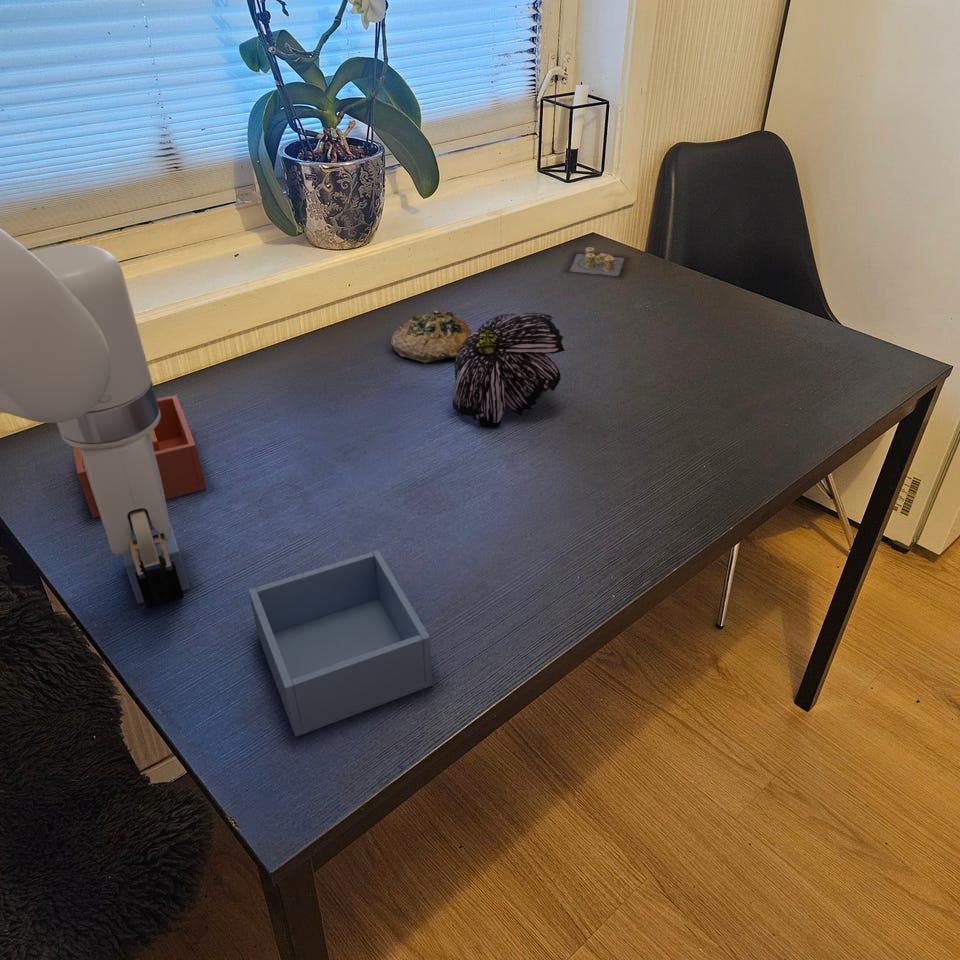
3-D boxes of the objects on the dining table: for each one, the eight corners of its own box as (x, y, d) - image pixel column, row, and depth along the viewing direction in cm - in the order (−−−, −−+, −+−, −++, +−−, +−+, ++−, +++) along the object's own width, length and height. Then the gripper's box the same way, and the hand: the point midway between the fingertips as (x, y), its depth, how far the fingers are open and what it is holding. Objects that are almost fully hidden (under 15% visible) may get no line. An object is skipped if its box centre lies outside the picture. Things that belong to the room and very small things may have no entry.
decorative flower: (418, 313, 99) (536, 270, 99) (442, 376, 109) (550, 337, 109) (447, 400, 91) (577, 352, 91) (471, 460, 100) (588, 417, 100)
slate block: (137, 604, 74) (125, 566, 71) (131, 573, 77) (118, 536, 74) (189, 588, 75) (179, 551, 73) (181, 559, 79) (170, 522, 76)
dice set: (612, 272, 135) (613, 260, 134) (580, 269, 136) (581, 257, 135) (616, 260, 139) (617, 249, 138) (585, 257, 140) (586, 246, 139)
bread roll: (444, 318, 120) (445, 288, 117) (488, 357, 114) (490, 326, 110) (377, 341, 115) (375, 310, 112) (419, 383, 109) (419, 352, 105)
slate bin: (295, 737, 62) (284, 688, 59) (258, 637, 71) (247, 589, 67) (432, 685, 66) (430, 636, 63) (383, 597, 74) (378, 549, 71)
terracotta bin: (93, 518, 84) (77, 473, 80) (82, 461, 92) (68, 418, 88) (206, 489, 88) (195, 444, 84) (187, 436, 96) (176, 394, 92)
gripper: (48, 370, 70) (104, 533, 81) (63, 478, 58) (128, 655, 68) (140, 352, 73) (184, 512, 84) (174, 452, 60) (220, 626, 71)
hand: (158, 575), depth 76 cm, fingers open, 6 cm apart
